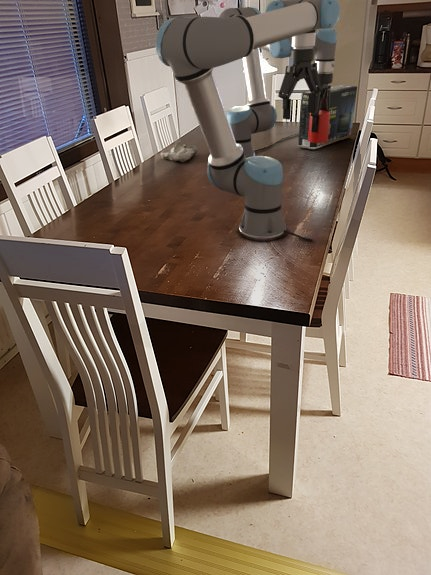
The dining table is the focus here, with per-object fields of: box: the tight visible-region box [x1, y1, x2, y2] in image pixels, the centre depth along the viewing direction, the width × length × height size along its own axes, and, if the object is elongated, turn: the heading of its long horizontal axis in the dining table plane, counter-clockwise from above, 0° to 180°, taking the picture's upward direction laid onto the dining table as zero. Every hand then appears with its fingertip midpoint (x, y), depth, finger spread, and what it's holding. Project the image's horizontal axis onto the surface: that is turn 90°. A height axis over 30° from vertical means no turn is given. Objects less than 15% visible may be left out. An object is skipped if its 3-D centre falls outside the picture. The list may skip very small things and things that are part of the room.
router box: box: [297, 84, 358, 151], centre depth 238 cm, size 36×11×27 cm, turn 134°
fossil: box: [160, 142, 199, 163], centre depth 229 cm, size 18×11×15 cm
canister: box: [308, 110, 330, 143], centre depth 198 cm, size 8×8×12 cm
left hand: (318, 129), depth 198 cm, fingers closed on canister, 8 cm apart
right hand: (299, 115), depth 161 cm, fingers open, 13 cm apart
